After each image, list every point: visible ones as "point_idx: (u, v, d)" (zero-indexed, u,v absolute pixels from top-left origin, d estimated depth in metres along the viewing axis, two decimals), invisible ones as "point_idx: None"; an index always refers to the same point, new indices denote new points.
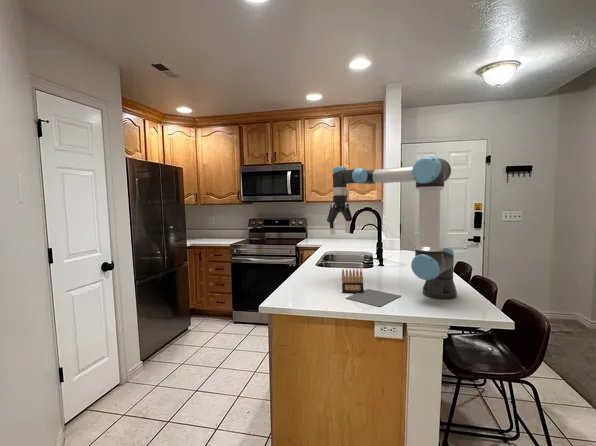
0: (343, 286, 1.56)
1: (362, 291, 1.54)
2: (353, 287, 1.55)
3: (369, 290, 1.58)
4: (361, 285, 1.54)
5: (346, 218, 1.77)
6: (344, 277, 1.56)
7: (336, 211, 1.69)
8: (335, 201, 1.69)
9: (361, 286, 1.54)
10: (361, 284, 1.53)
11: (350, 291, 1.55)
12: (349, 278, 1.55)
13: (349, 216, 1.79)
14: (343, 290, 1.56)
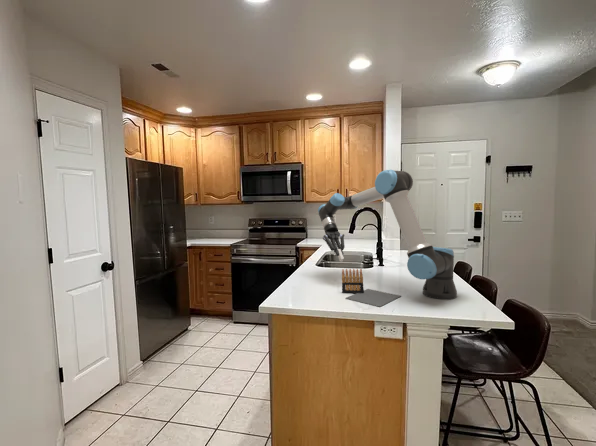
0: (343, 286, 1.56)
1: (362, 291, 1.54)
2: (353, 287, 1.55)
3: (369, 290, 1.58)
4: (361, 285, 1.54)
5: (338, 246, 1.73)
6: (344, 277, 1.56)
7: (332, 239, 1.74)
8: None
9: (361, 286, 1.54)
10: (361, 284, 1.54)
11: (350, 291, 1.55)
12: (349, 278, 1.55)
13: None
14: (343, 290, 1.56)
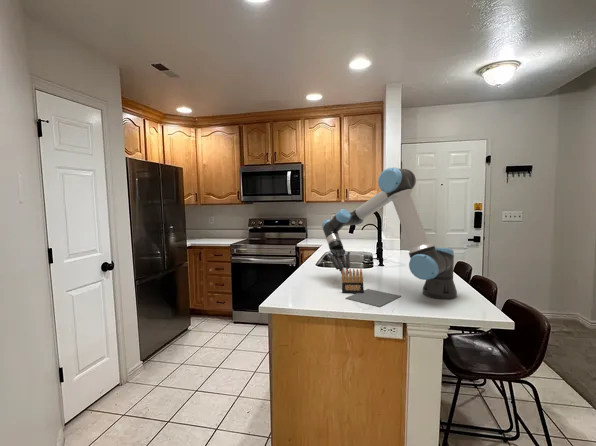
0: (343, 286, 1.56)
1: (362, 291, 1.54)
2: (353, 287, 1.55)
3: (369, 290, 1.58)
4: (361, 285, 1.54)
5: (343, 265, 1.66)
6: (344, 277, 1.56)
7: (337, 257, 1.68)
8: None
9: (361, 286, 1.54)
10: (361, 284, 1.54)
11: (350, 291, 1.55)
12: (349, 278, 1.55)
13: None
14: (343, 290, 1.56)
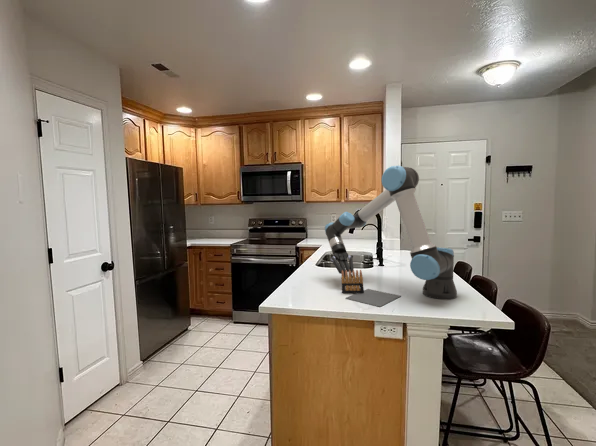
0: (343, 287, 1.55)
1: (362, 291, 1.53)
2: (353, 287, 1.54)
3: (369, 290, 1.58)
4: (361, 286, 1.53)
5: (346, 269, 1.63)
6: (344, 278, 1.54)
7: (340, 261, 1.64)
8: None
9: (361, 286, 1.53)
10: (361, 285, 1.53)
11: (350, 291, 1.55)
12: (349, 279, 1.54)
13: None
14: (343, 290, 1.55)
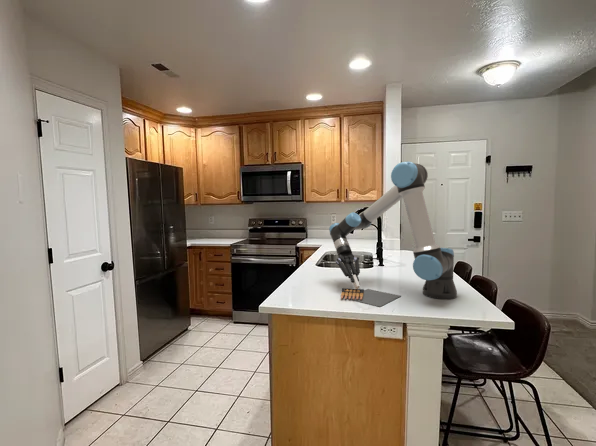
0: None
1: None
2: None
3: (369, 290, 1.58)
4: None
5: (353, 272, 1.56)
6: (343, 296, 1.48)
7: (346, 263, 1.58)
8: None
9: None
10: None
11: None
12: None
13: None
14: None
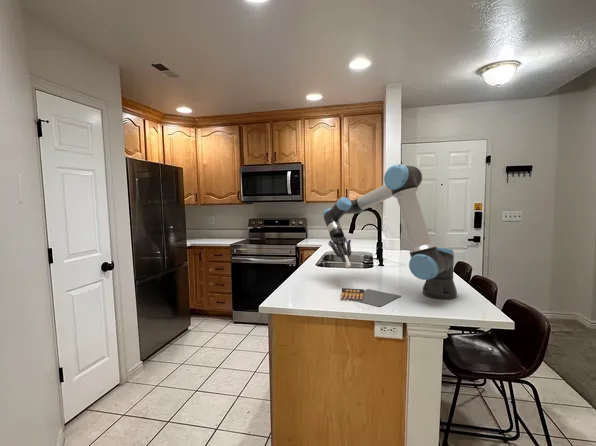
0: None
1: None
2: None
3: (369, 290, 1.58)
4: None
5: (344, 252, 1.66)
6: (343, 296, 1.48)
7: (338, 245, 1.67)
8: None
9: None
10: None
11: None
12: None
13: None
14: None
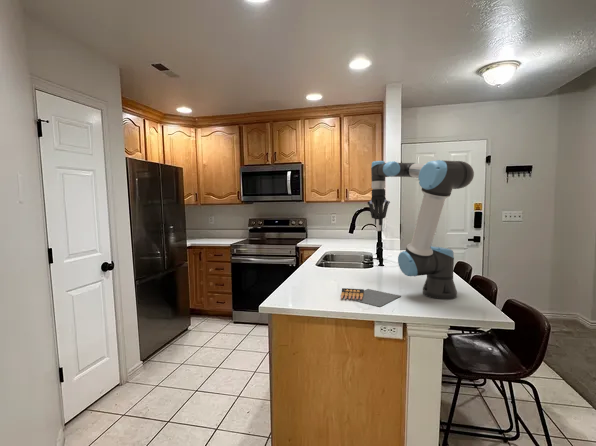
0: None
1: None
2: None
3: (369, 290, 1.58)
4: None
5: None
6: (343, 296, 1.48)
7: None
8: None
9: None
10: None
11: None
12: None
13: (384, 215, 1.74)
14: None
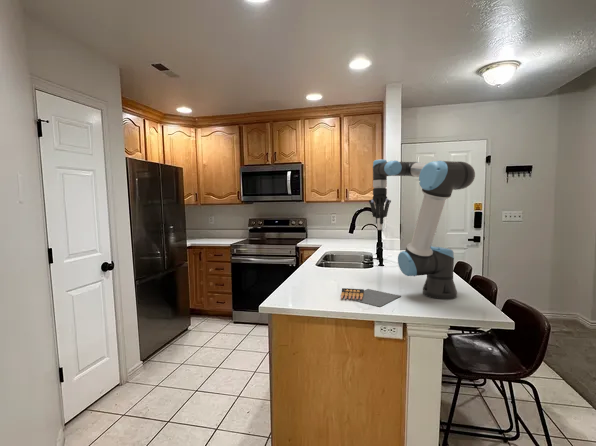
0: None
1: None
2: None
3: (369, 290, 1.58)
4: None
5: None
6: (343, 296, 1.48)
7: (376, 205, 1.76)
8: None
9: None
10: None
11: None
12: None
13: (385, 214, 1.73)
14: None
